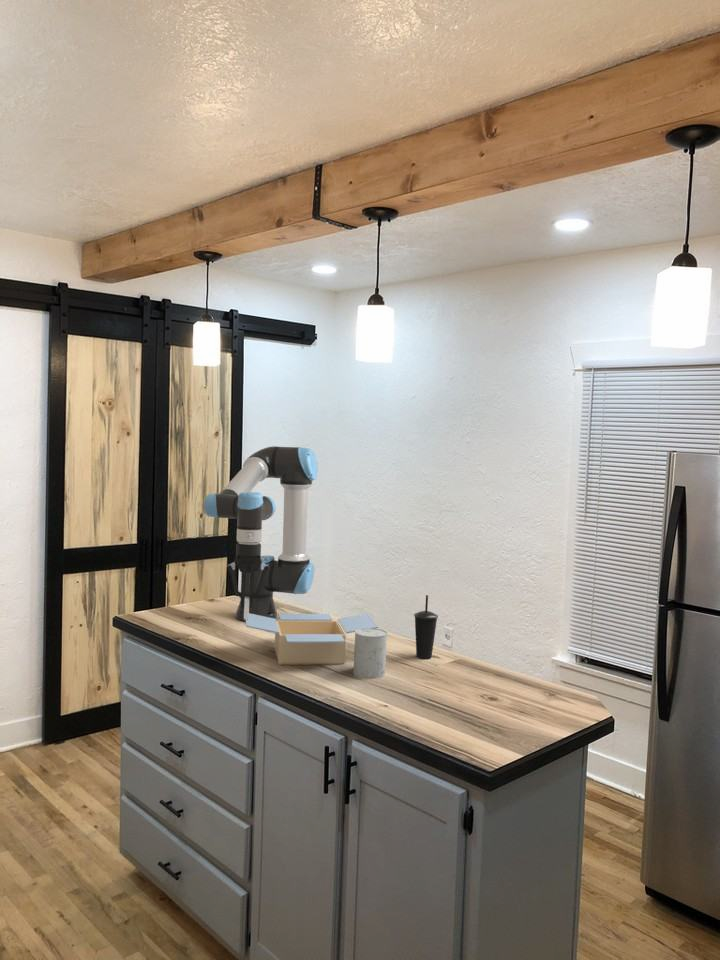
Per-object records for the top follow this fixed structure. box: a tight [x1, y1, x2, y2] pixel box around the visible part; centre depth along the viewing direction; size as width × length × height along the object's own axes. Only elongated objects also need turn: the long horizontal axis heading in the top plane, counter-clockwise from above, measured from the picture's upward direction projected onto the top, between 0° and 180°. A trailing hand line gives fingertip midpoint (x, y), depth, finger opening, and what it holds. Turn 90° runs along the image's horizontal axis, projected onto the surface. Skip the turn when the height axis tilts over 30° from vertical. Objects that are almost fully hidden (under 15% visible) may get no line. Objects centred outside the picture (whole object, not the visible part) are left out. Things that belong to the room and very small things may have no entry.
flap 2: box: [337, 613, 379, 634], centre depth 242 cm, size 17×10×1 cm, turn 10°
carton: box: [274, 613, 347, 666], centre depth 240 cm, size 34×20×9 cm, turn 10°
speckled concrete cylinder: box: [352, 628, 388, 680], centre depth 225 cm, size 10×10×12 cm
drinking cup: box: [413, 594, 439, 660], centre depth 244 cm, size 8×8×20 cm
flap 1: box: [245, 613, 279, 634], centre depth 237 cm, size 17×10×1 cm, turn 10°
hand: (246, 618), depth 236 cm, fingers closed
